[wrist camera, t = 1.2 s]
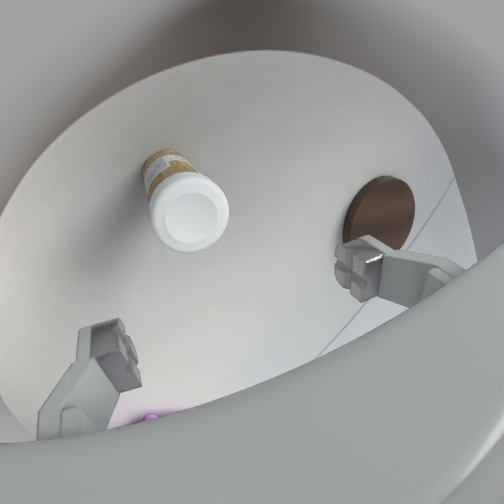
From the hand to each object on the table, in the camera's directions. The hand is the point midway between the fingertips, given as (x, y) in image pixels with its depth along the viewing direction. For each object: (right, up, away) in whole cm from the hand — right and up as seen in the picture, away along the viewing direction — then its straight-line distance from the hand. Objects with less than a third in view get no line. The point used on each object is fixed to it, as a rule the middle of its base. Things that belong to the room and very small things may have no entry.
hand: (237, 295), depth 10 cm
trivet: (+19, +6, +31) cm, 37 cm away
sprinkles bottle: (-8, +9, +17) cm, 21 cm away
